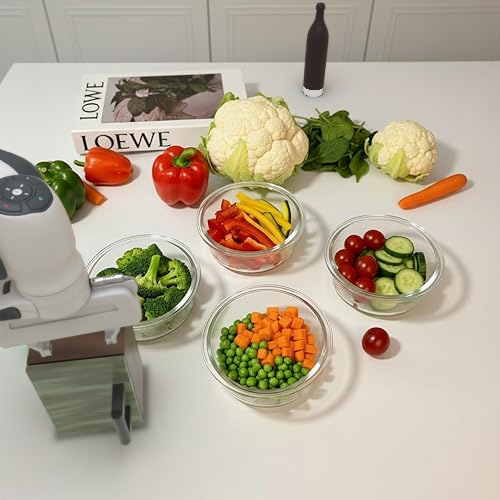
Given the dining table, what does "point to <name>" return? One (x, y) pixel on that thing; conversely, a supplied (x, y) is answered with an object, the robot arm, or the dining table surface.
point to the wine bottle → (316, 51)
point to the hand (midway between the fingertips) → (80, 346)
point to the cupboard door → (88, 396)
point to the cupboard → (97, 353)
